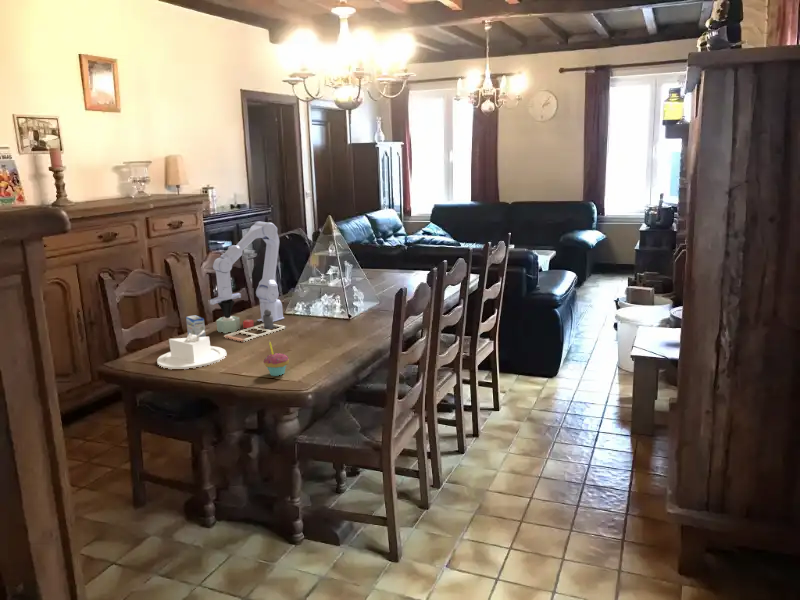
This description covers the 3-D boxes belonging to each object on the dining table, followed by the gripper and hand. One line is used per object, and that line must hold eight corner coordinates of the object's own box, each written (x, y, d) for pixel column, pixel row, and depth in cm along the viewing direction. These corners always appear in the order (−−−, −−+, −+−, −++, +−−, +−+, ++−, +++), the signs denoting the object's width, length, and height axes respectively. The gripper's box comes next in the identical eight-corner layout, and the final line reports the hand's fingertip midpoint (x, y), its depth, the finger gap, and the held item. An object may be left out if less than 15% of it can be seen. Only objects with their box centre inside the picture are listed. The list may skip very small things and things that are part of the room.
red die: (247, 326, 288) (246, 319, 288) (253, 326, 287) (253, 319, 287) (243, 328, 285) (242, 321, 285) (250, 328, 284) (249, 321, 284)
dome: (230, 324, 288) (229, 314, 287) (238, 326, 284) (237, 316, 283) (218, 327, 283) (217, 318, 282) (227, 329, 280) (226, 319, 279)
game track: (266, 324, 290) (266, 322, 290) (286, 328, 282) (286, 326, 282) (224, 337, 273) (223, 335, 273) (243, 342, 265) (243, 339, 265)
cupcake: (261, 377, 223) (258, 343, 221) (269, 369, 232) (266, 336, 229) (286, 378, 222) (283, 343, 219) (293, 369, 230) (290, 336, 228)
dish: (238, 350, 256) (235, 322, 253) (202, 372, 232) (198, 341, 230) (183, 347, 263) (180, 320, 260) (143, 368, 239) (138, 338, 237)
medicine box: (187, 336, 277) (185, 316, 275) (197, 334, 279) (195, 314, 277) (196, 340, 271) (193, 320, 269) (206, 338, 274) (204, 317, 272)
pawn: (269, 327, 286) (267, 307, 284) (275, 328, 283) (274, 308, 281) (262, 329, 283) (260, 309, 281) (268, 330, 280) (266, 310, 278)
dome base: (230, 326, 290) (228, 315, 289) (244, 329, 284) (242, 318, 283) (214, 330, 284) (212, 319, 283) (228, 334, 278) (226, 322, 277)
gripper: (232, 282, 287) (235, 312, 290) (204, 288, 276) (207, 320, 280) (242, 283, 283) (245, 314, 286) (214, 290, 272) (217, 322, 275)
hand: (227, 317), depth 283 cm, fingers closed, pressing on dome
